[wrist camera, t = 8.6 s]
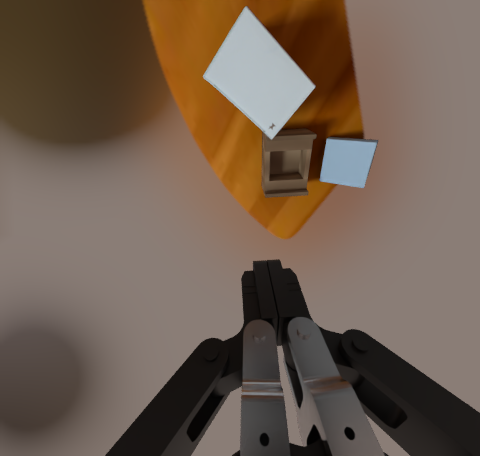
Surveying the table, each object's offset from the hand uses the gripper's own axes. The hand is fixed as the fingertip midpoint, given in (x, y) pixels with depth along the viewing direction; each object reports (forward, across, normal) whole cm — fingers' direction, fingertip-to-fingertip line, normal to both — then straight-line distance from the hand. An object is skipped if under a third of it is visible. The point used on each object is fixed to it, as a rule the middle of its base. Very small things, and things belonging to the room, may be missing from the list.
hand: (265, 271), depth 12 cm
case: (+23, -6, +1) cm, 24 cm away
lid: (+20, -14, +1) cm, 24 cm away
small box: (+23, -1, -9) cm, 25 cm away
